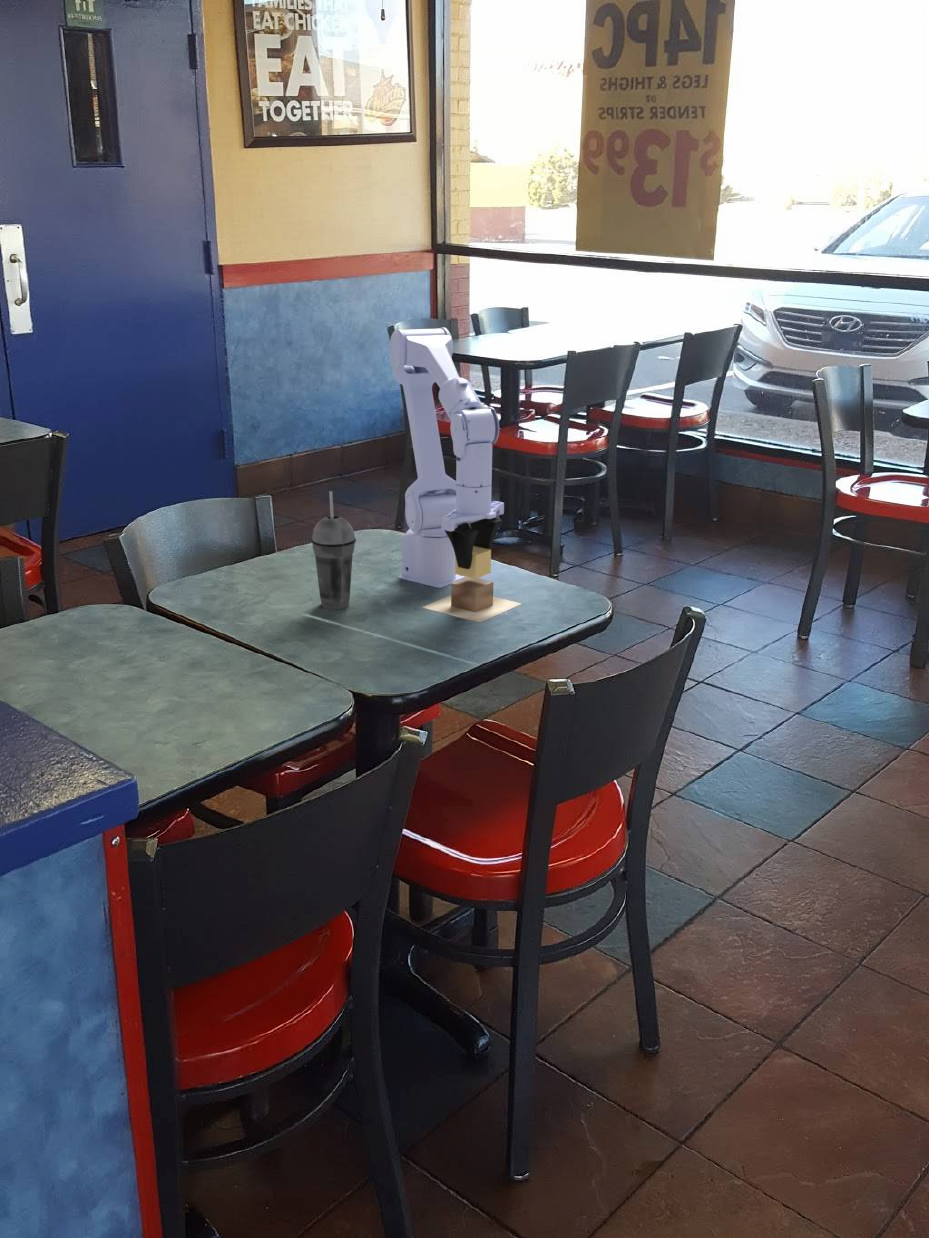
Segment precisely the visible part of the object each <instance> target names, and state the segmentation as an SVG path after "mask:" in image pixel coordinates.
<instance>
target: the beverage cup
mask: <svg viewBox="0 0 929 1238" xmlns="http://www.w3.org/2000/svg"><path fill="white" fill-rule="evenodd" d="M328 493H329V509H330V510H329V511H330V512H329V514H330V515H328V516H325V517H323V518H322V519H320V520H319V521H318V522H317V523H316V524H315V526H314V527H313V532H312V535H311V536H312V537H311V544H312V551H313V554H314V558H315V566H316V573H317V583H318V591H319V597H320V598H319V600H320V604H321V607H322V608H324V609H327V610H342V609H346V608H347V607H349V605H350V600H351V599H350V598H351V584H352V569H353V554H354V553H355V543H356V541H357V539H356V536H355V532H354V529H353V526H352V525H351V524H350V522H349V521H348V520H346V519H345V518H343V517H342V516H339V515H334V501H333V500H334V499H333V491H331V490H330V491H328Z"/></svg>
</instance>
